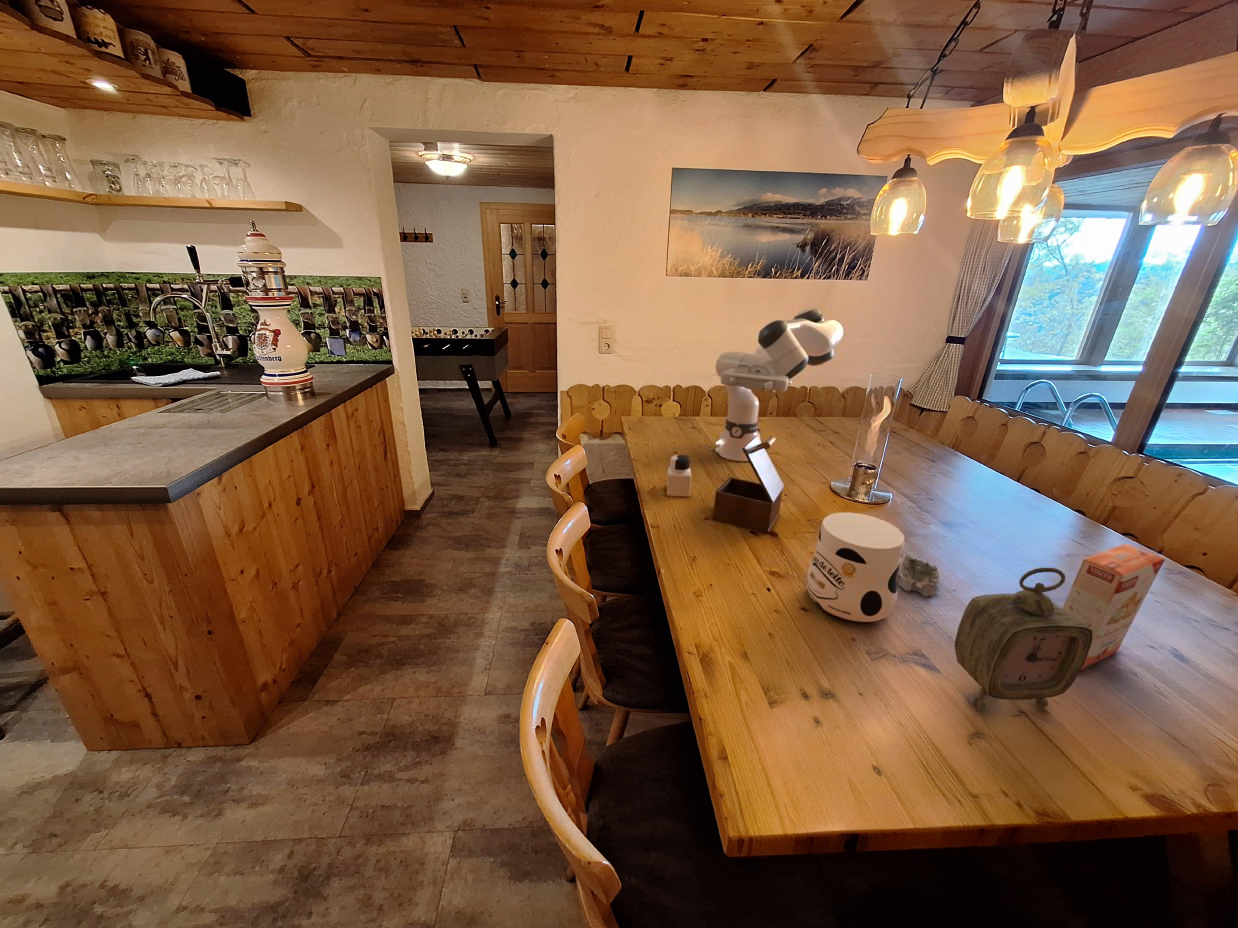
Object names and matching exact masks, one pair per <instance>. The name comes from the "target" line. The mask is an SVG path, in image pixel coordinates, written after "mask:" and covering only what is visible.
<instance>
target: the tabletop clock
mask: <svg viewBox="0 0 1238 928" xmlns="http://www.w3.org/2000/svg"><path fill="white" fill-rule="evenodd" d="M1040 573H1053V574H1054V573H1055V574H1057V575H1058V576H1060V580H1059V582H1057V583H1055V584H1052V585H1050V586H1045V584H1044V583H1041V582H1037V583H1035V585H1034V587H1030V586H1026V585H1025V584H1024V582H1025V580H1026V579H1027V578H1029V577H1030V576H1033V575H1036V574H1040ZM1065 581H1066V574H1065V573H1064V572H1063V571H1062V570H1061V569H1058V568H1055V567H1038V568H1033V569H1031V570H1029V571H1027V572H1025V573H1024V574H1023V575H1022V576H1021V577H1020V579H1019V582H1018V583H1019V584H1018V585H1019V587H1020V588H1021V589H1022V590H1018V591H1017V592H1015V593H994V594H992V593H991V594H983V595H982V594H981V595H977V596H975V597H972V598H971V599H970V601H969V602H968V604H967V606H965V609H964V611H963V614H962V616H961V619H960V621H959V624H958V628H957V632H956V635H955V639H954V651H955V657H956V662H957V663H958V664H959V665H960V666H961V667H962V668H963V669H964V670H965V671H966V673H968V675H969V676H970V677H971V678H972V679H973V680H974V681H975V682H976V683H977V684H978V686H980V688H981V689H980V693H979V697H975V698H974V699H973V701H972V702H973V706H974V707H975V708H976V709H978V710H983V709H985V708H986V701H985V700H984V699H985V697H986V696H987V695H988V696H989V697H991V698H994V699H999V700H1020V701H1027V700H1035V703H1036V705H1038V707H1041V708H1046V707H1048V706H1049V701H1048V699H1047V698H1054V697H1057V696H1060V695H1064V694H1065V693H1066V692H1067V691H1068V690H1069V689H1070V687H1072V685H1073V684H1074V682H1075V681H1076V678H1078V676H1079V674H1080V672H1081V671H1082V670H1081V668H1082V666H1083V665H1084V663H1085V660H1086V657H1087V655H1088V652H1089V649H1090V646H1091V642H1092V630H1091V629H1090V628H1088V627H1087V626H1085V625H1084V624H1083V623H1081V622H1080V621H1078V620H1077V619H1076V618H1074V617H1073V616H1071V615H1070V614H1068V613H1067V612H1066V611H1064V610H1063V609H1062V607H1060V606H1059V605H1058V604H1056V603H1055V602H1053V600H1052V599H1051V598H1050V596H1048V595H1047V594H1045V593H1047V592H1051V591H1054V590H1058V588H1060V587H1061V586H1062V585H1063V584H1065Z"/></svg>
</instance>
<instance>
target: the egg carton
mask: <svg viewBox="0 0 1238 928" xmlns="http://www.w3.org/2000/svg"><path fill="white" fill-rule="evenodd" d="M899 575H900V580H899V583H898V585H899V587H901V588H902V589H904V591H907V592H911V591H914V592H918V593H919V594H921V596H923V597H929V596H934V595H935V592H936V591H937V590H936V589H937V583H938V582H939V578H940V573H939V571H938V567H937V566H936V565H931V564H929V562H928V561H927V562H924V561H923V560H921V559H918V558H913V557H911V556H909V555H907V554H905V555H904V557H903V560H902V561H901V564H900V567H899Z"/></svg>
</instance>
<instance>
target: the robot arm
mask: <svg viewBox="0 0 1238 928" xmlns="http://www.w3.org/2000/svg"><path fill="white" fill-rule="evenodd" d="M824 316H825V315H824V314H823V313H822V312H821V310H819V309H818V308H817V307H813V308H810V307H809V308H805V309H802V310H801V311H799V312H798V313H797V314H796V315H795V316H794V317H793V318H792V319H789V320H783V319H782V320H781V319H777V320H773V321H770V322H769V323H767V324H765V325H763V327H762V328H761V330H759V332H758V335H757V336H758V338H757V343H758V344H759V346H758V347H757V348H756V350H755V353H748V352H741V351H727V352H723V353H721V354H720V355H719V356H718V358H717V360H716V362H715V372H716V374H717V376H718V377H719V378H720V384H721V385H723V386H724V387H725V390H726V393H727V401H728V402H727V404H728V405H727V416H726V419H725V421H724V422H725V423H724V428H725V429H724V430H722V431H721V432H720V435H719V436H720V437H719V440H718V441H716V445H718V447H716V448H714V452H715V453H717V454H718V455H719V456H720V457H722V458H724V459H726V460H730V461H735V462H749V461H748V459H747V457H746V455H745V453H744V452H743V450H742V448H743V447H744V446H745V445H746V444H747V443H749V442H750V441H751V440H752V439H753V438H754V437H755V436H757V435H758V437H759V439H760V440H761V433H760V428H759V421H760V419H759V418H758V416H759V409H760V400H759V398H758V397H757V396H756V395H755V394H754V392H755V393H763V392H765V391H772V392H779V393H780V392H781V393H783V392H786V391H787V390H788V387H789V385H792V384H793V380H791V379H793V378H794V377H796V376H797V375H798V374H799V373H801V372H802V371H803V370H805V368H806V367H807V365H808V366H811V367H815V366H816V367H818V366H823V365H825V364H827V363H828V362H829V361H831V360H833V358H834V356H835V348H836V347H837V346H838V345H839V343H840V342H841V340H842V338H843V336H844V329H843V326H842V324H841V323H840V322H838V320H837V321H836V320H834V319H825V320H824Z"/></svg>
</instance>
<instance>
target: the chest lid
mask: <svg viewBox="0 0 1238 928" xmlns="http://www.w3.org/2000/svg"><path fill="white" fill-rule="evenodd" d="M776 440H777V439H776V437H775V436H772V435H771V436H769V437H767V439H766V440H765V441H763V442H762V441H761V438H760V439H759V437H758V435H757V436H755V437H754V438H753V439H752V440H751V441H750V442H749V443H747V444H746V445H745V446H744V447H743V448H742V450H743V452H744V453H745V455H746V457H747V459H748V461H747V462H748V463H749V465H750V467H751V469H752V471H753V472H754V475H755V476H756V478H757V480H758V483H760V484H761V486H762V488H763V489H764V491H765V493H766V495H767V497H768V499H769V501H770V503H773V502H774V501H775V499H776V498H777V496H778V495H779V493H780V492H781V490H782V489H784V487H785V485H784V482H783V481H782V479H781V477H780V475H779V473H778V472H777V470H776V467H775V465H774V464H773V461H772V460H771V458H770V456H769V454H768V453H767V450H769V449H770V448H772V446H773V445H774V444H775V443H776Z"/></svg>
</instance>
